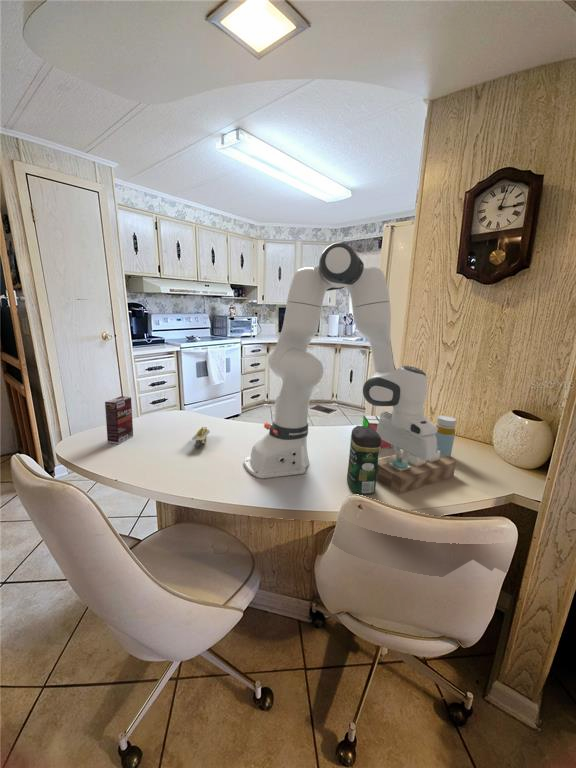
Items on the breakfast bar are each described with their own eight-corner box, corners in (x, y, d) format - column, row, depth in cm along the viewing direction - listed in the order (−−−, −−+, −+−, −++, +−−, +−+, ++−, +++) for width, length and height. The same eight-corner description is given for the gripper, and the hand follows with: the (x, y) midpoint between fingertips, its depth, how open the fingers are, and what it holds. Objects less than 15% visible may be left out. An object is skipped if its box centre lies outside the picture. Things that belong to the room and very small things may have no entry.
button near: (398, 483, 97) (401, 466, 95) (387, 476, 101) (389, 459, 99) (408, 480, 99) (411, 463, 98) (397, 473, 103) (399, 457, 102)
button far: (429, 467, 103) (432, 450, 102) (417, 461, 107) (420, 444, 106) (438, 464, 105) (440, 448, 104) (426, 458, 109) (428, 442, 108)
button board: (399, 494, 92) (401, 478, 91) (370, 474, 102) (372, 460, 101) (453, 475, 105) (456, 461, 104) (423, 460, 115) (425, 447, 114)
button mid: (414, 471, 100) (417, 454, 98) (403, 465, 104) (405, 448, 102) (424, 468, 102) (427, 451, 101) (412, 462, 106) (415, 446, 104)
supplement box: (118, 444, 114) (115, 403, 111) (107, 443, 115) (103, 401, 111) (134, 436, 123) (131, 396, 119) (123, 434, 123) (120, 395, 120)
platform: (224, 438, 126) (224, 422, 124) (209, 458, 108) (209, 441, 107) (195, 435, 127) (195, 420, 125) (176, 455, 109) (175, 438, 108)
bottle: (452, 455, 120) (459, 418, 116) (447, 461, 115) (454, 422, 111) (433, 449, 124) (440, 413, 121) (427, 454, 119) (433, 417, 116)
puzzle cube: (391, 448, 123) (394, 424, 121) (366, 447, 124) (368, 423, 121) (384, 438, 133) (387, 416, 131) (360, 437, 133) (363, 415, 131)
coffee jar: (343, 478, 99) (349, 422, 95) (368, 478, 100) (374, 423, 96) (351, 495, 90) (357, 435, 86) (378, 496, 90) (386, 436, 86)
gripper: (374, 410, 103) (369, 449, 106) (428, 432, 86) (421, 478, 89) (388, 408, 106) (383, 446, 109) (443, 429, 89) (435, 473, 92)
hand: (400, 461), depth 99 cm, fingers closed
